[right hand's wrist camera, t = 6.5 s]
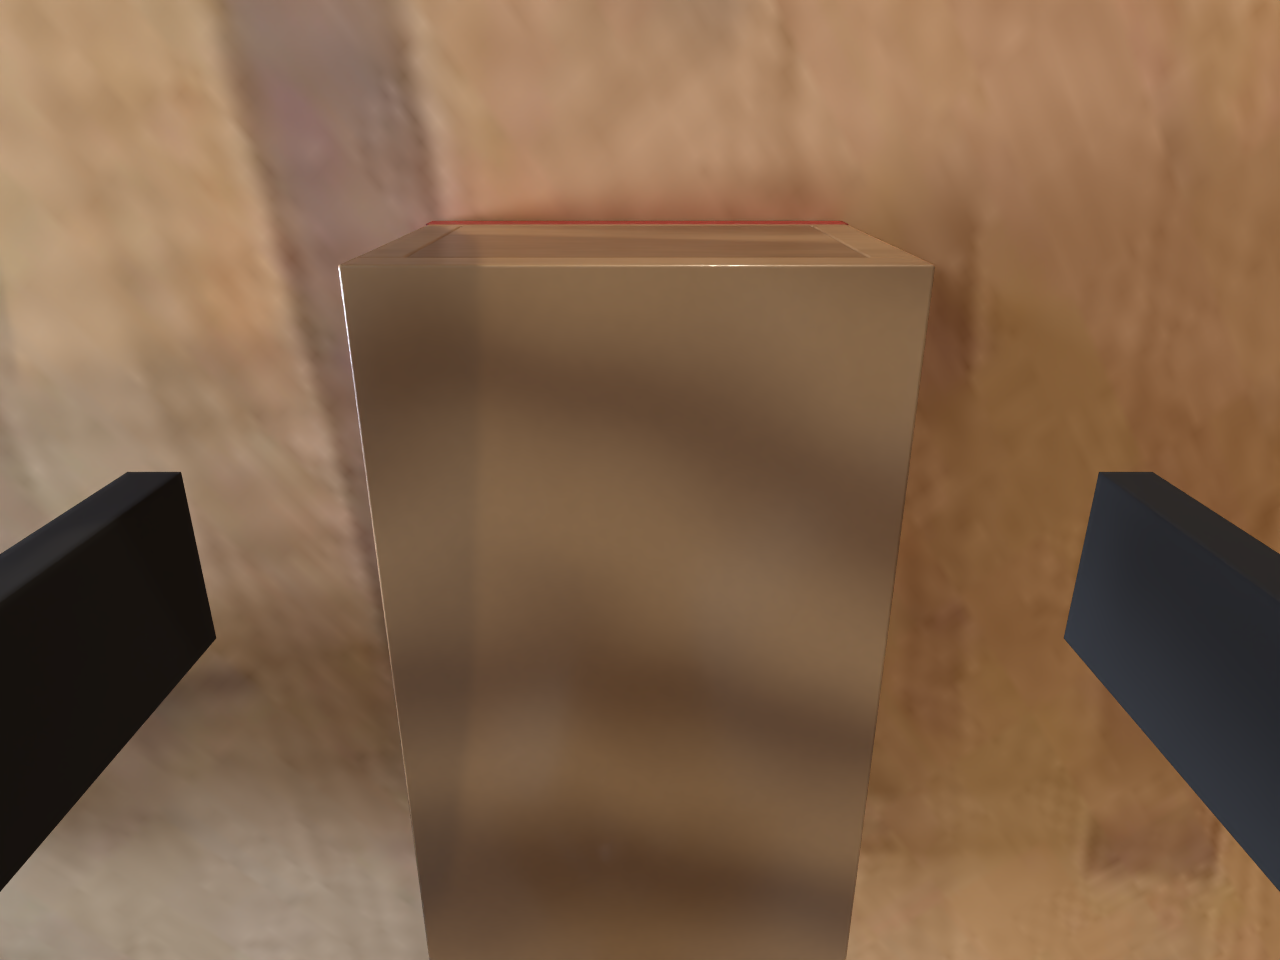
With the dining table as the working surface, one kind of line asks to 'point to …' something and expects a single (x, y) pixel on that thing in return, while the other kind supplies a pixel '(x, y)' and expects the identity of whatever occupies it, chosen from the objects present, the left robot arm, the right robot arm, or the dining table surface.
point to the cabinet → (637, 571)
